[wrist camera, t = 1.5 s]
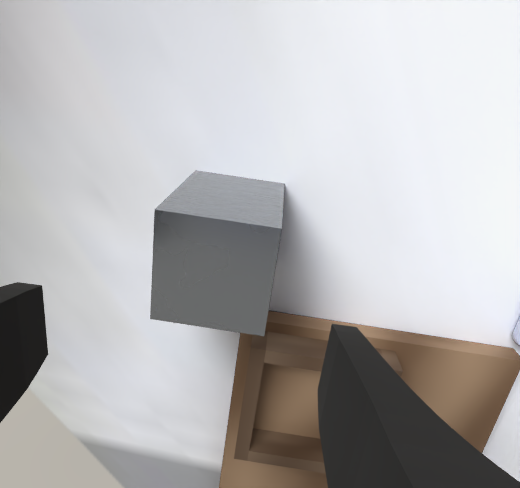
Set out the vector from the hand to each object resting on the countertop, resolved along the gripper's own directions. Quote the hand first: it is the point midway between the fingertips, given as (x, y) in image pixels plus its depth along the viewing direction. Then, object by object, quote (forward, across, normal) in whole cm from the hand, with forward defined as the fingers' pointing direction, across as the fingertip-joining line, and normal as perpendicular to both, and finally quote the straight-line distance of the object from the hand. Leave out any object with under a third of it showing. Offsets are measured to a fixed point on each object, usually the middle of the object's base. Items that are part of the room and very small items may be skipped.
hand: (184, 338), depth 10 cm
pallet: (+9, -8, +12) cm, 17 cm away
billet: (+10, 0, 0) cm, 10 cm away
